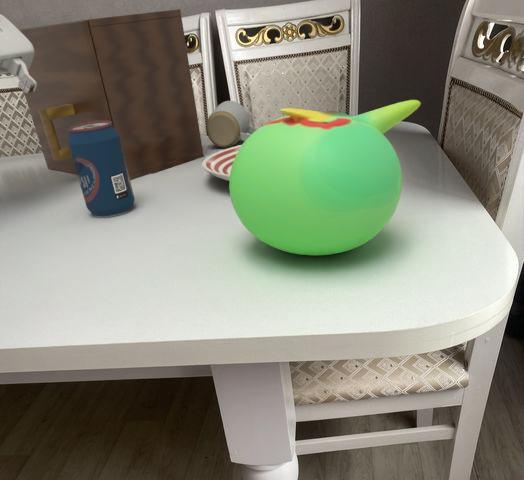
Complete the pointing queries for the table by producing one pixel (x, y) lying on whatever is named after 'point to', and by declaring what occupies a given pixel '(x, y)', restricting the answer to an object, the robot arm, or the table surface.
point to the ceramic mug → (229, 124)
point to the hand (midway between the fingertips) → (11, 93)
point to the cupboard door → (64, 88)
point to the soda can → (101, 168)
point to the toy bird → (319, 179)
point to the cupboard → (148, 88)
